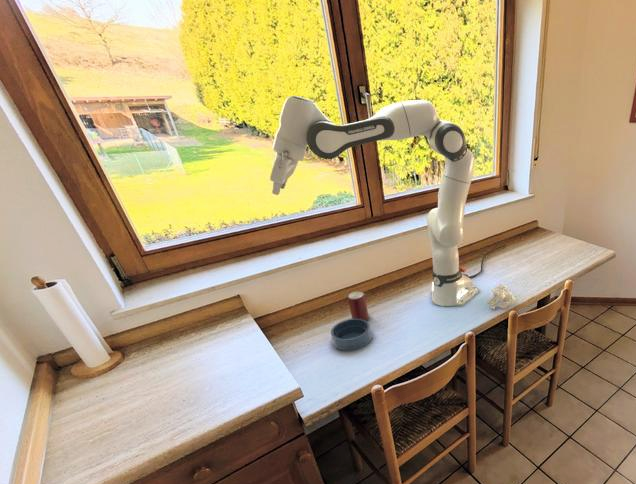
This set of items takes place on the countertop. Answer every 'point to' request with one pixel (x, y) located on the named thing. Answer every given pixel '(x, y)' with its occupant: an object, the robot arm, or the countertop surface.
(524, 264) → the countertop surface
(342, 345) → the bowl
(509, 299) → the white irregular lump
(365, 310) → the can
